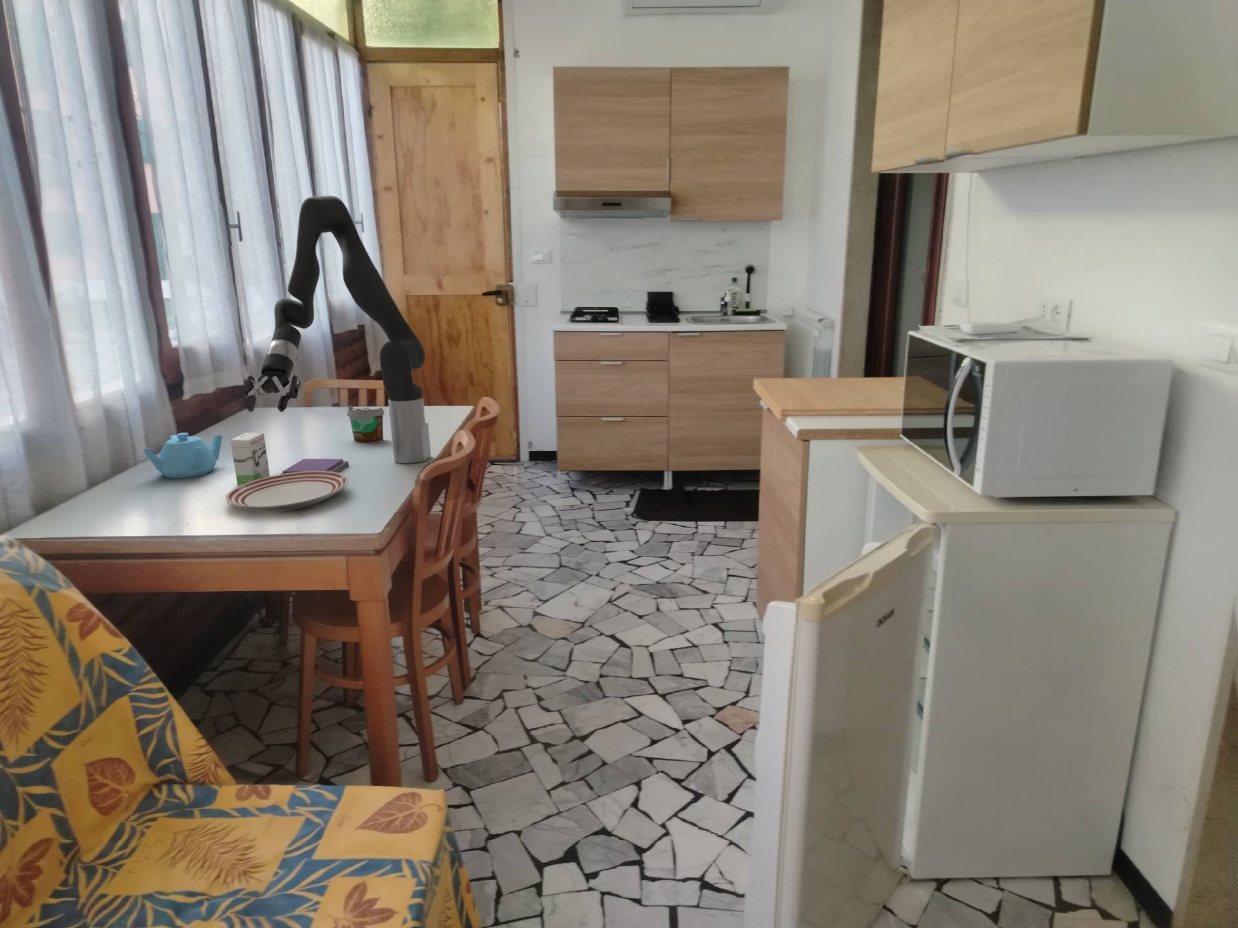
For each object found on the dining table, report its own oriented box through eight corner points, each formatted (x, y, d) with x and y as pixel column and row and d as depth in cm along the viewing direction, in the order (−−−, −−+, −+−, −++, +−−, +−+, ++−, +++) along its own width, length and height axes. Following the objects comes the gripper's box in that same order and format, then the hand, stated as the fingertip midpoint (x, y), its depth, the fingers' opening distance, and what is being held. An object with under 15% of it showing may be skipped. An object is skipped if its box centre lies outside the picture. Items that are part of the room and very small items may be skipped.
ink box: (255, 485, 210) (248, 440, 207) (236, 485, 211) (229, 440, 207) (270, 475, 218) (264, 431, 215) (252, 475, 219) (245, 432, 216)
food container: (340, 441, 252) (337, 409, 249) (354, 437, 258) (350, 405, 255) (374, 444, 248) (370, 411, 245) (387, 439, 253) (383, 407, 250)
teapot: (230, 464, 231) (224, 426, 228) (204, 479, 216) (198, 439, 213) (175, 465, 231) (169, 427, 228) (146, 481, 216) (138, 441, 214)
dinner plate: (218, 524, 183) (215, 510, 182) (236, 489, 208) (234, 476, 207) (349, 510, 190) (347, 496, 189) (350, 477, 215) (349, 465, 214)
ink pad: (348, 465, 226) (347, 457, 225) (326, 480, 213) (325, 472, 212) (302, 465, 227) (301, 457, 227) (278, 480, 214) (276, 472, 213)
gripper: (248, 352, 225) (232, 402, 217) (299, 351, 224) (284, 402, 216) (261, 368, 232) (245, 418, 224) (310, 368, 230) (296, 417, 222)
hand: (264, 410), depth 220 cm, fingers open, 8 cm apart
